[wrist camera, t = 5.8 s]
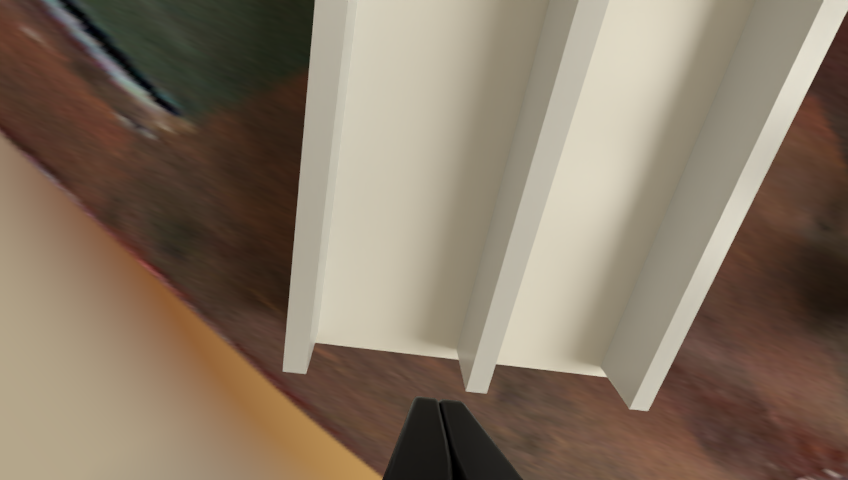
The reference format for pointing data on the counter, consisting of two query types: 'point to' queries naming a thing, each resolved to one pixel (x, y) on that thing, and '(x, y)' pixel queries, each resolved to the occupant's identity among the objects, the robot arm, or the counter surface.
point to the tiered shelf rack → (536, 174)
